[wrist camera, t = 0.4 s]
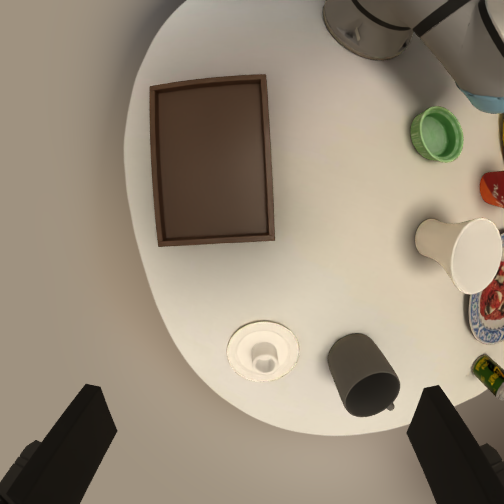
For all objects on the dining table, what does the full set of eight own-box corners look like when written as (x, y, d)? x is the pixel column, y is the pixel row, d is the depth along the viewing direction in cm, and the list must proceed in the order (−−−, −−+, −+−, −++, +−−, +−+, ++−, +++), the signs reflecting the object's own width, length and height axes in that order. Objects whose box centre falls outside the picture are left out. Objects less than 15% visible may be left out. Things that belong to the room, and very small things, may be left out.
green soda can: (490, 359, 52) (517, 385, 40) (475, 376, 52) (501, 404, 41) (483, 349, 51) (513, 375, 39) (468, 367, 52) (496, 395, 40)
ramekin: (398, 116, 41) (411, 111, 36) (438, 106, 40) (452, 101, 36) (417, 169, 43) (431, 169, 38) (455, 155, 42) (470, 154, 38)
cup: (454, 207, 44) (505, 219, 31) (449, 266, 46) (496, 291, 33) (406, 205, 44) (455, 216, 31) (402, 269, 46) (445, 298, 33)
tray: (155, 91, 40) (149, 86, 37) (265, 80, 40) (266, 74, 37) (163, 243, 45) (158, 247, 43) (273, 236, 45) (275, 240, 42)
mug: (316, 356, 50) (331, 400, 38) (357, 322, 48) (383, 359, 37) (358, 394, 52) (376, 435, 40) (394, 364, 51) (421, 401, 39)
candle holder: (235, 383, 51) (233, 398, 47) (220, 325, 48) (217, 338, 44) (302, 373, 51) (305, 387, 46) (294, 313, 48) (298, 326, 44)
